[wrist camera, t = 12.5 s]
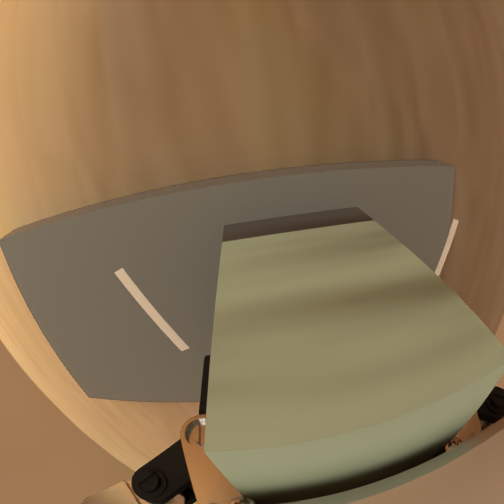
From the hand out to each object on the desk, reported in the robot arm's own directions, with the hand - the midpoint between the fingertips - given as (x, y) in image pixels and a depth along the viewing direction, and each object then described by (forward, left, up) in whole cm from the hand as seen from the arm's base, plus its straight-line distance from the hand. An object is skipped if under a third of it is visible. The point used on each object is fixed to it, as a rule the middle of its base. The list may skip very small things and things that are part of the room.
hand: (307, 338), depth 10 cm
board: (0, -3, -3) cm, 5 cm away
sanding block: (0, 0, -2) cm, 2 cm away
